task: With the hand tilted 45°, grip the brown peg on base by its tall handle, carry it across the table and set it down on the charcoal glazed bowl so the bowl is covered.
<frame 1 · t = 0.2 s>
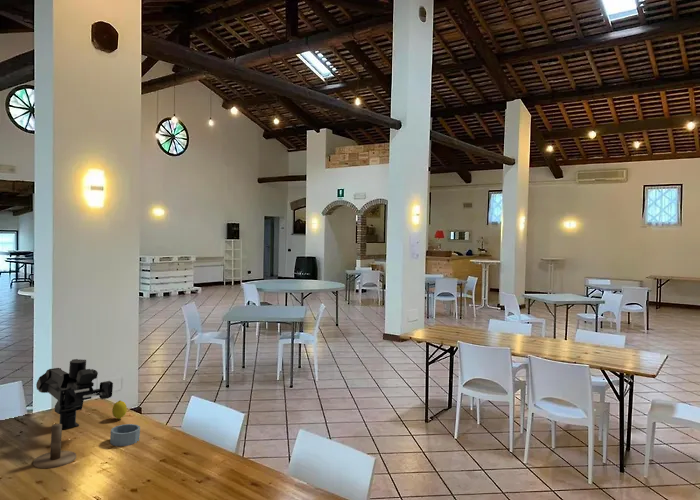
hand: (95, 399, 175), 17 cm above the table, tool horizontal, fingers open, 9 cm apart
lemon: (119, 419, 202), on the table
brown peg on base: (55, 460, 161), on the table
bowl: (125, 440, 180), on the table
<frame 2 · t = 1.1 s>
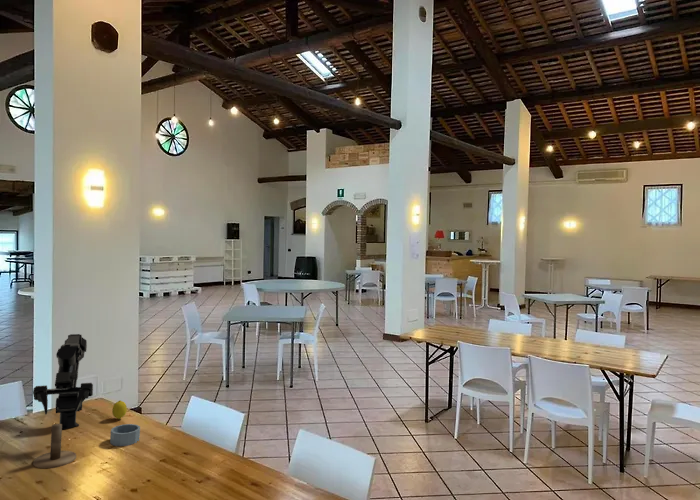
hand: (60, 412, 169), 13 cm above the table, tool tilted 45°, fingers open, 9 cm apart
nothing on the table moved.
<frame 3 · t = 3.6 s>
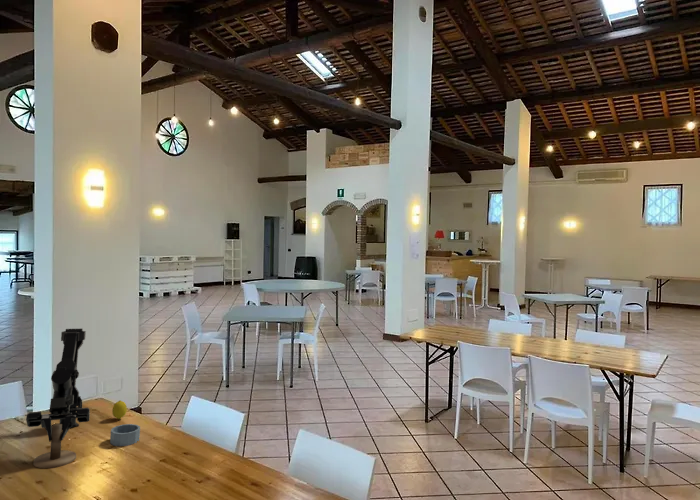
hand: (55, 440, 160), 7 cm above the table, tool tilted 45°, fingers closed on brown peg on base, 3 cm apart
brown peg on base: (55, 460, 161), on the table, touching gripper
everything else where it was.
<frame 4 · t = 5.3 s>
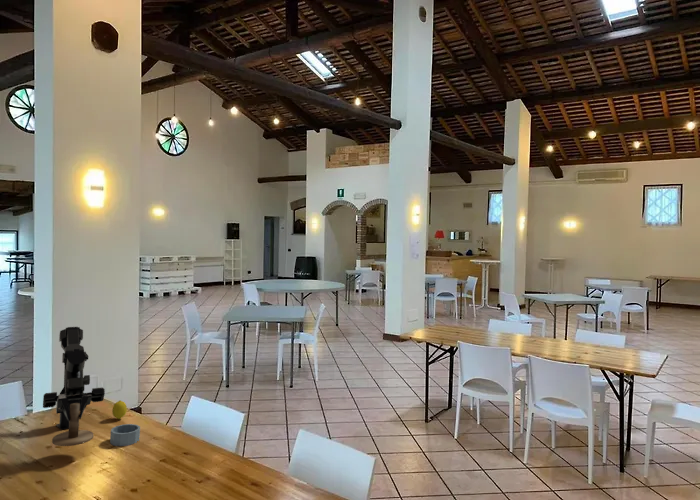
hand: (74, 419, 163), 13 cm above the table, tool tilted 45°, fingers closed on brown peg on base, 3 cm apart
brown peg on base: (73, 438, 164), point 6 cm above the table, touching gripper
everything else where it was.
when the fingers open (12 cm above the table, at t = 7.2 s): brown peg on base stays where it is, resting on bowl.
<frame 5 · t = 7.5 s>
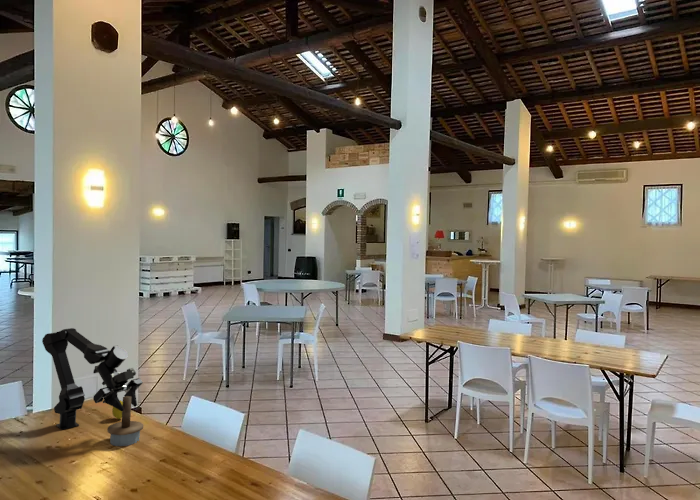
hand: (129, 408, 179), 13 cm above the table, tool tilted 45°, fingers open, 6 cm apart
brown peg on base: (125, 428, 180), point 4 cm above the table, touching bowl
everything else where it was.
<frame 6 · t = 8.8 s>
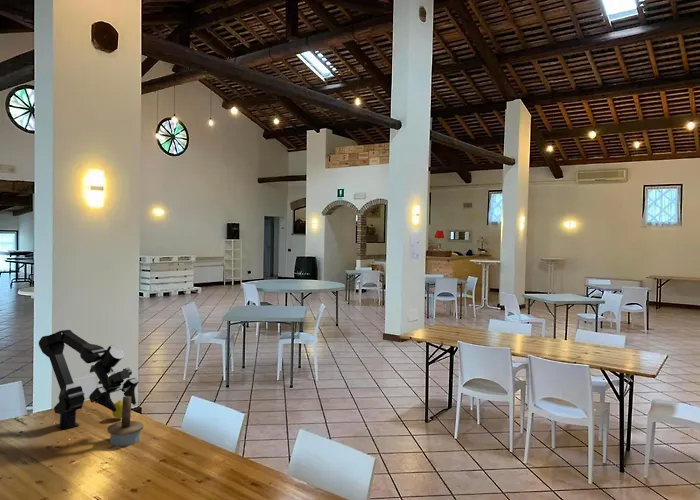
hand: (125, 407, 180), 12 cm above the table, tool tilted 45°, fingers open, 9 cm apart
nothing on the table moved.
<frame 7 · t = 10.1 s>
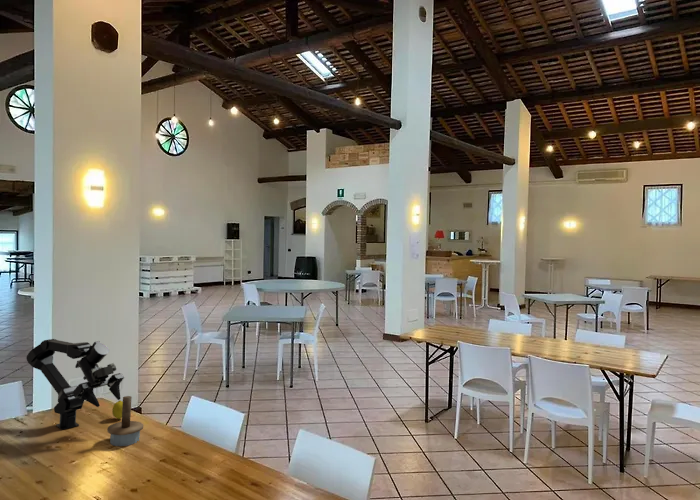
hand: (109, 402, 183), 13 cm above the table, tool tilted 45°, fingers open, 9 cm apart
nothing on the table moved.
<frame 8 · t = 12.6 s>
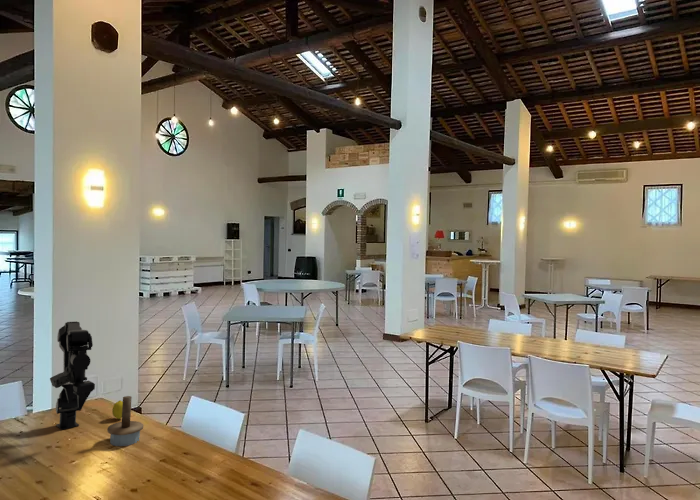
hand: (74, 405, 179), 13 cm above the table, tool pointing down, fingers open, 9 cm apart
nothing on the table moved.
at the end: brown peg on base 0.1 cm off-centre on the bowl, point 4.5 cm above the bowl's base; brown peg on base tilted 0°; the gripper is holding nothing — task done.
